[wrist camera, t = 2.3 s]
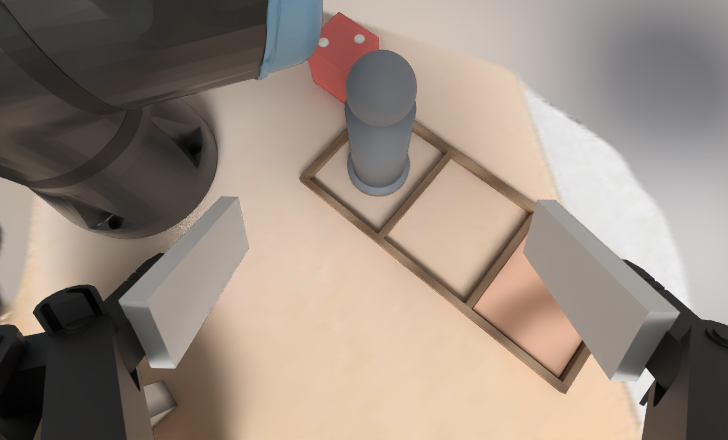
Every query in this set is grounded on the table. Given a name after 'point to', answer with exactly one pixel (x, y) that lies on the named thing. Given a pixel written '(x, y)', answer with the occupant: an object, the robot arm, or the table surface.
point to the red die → (339, 53)
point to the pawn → (380, 121)
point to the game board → (490, 279)
